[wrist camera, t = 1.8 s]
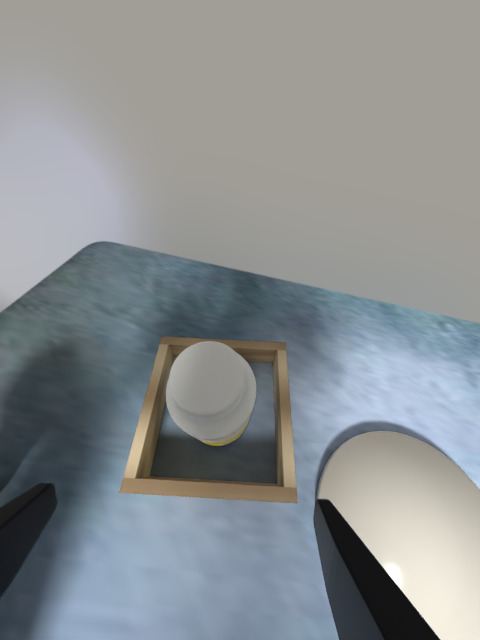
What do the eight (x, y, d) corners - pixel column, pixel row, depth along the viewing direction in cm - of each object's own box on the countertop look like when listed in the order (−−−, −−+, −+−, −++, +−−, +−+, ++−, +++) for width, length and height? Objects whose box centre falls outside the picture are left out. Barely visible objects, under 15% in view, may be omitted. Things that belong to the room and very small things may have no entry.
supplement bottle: (202, 374, 22) (181, 317, 13) (257, 391, 21) (271, 342, 13) (177, 434, 19) (130, 410, 10) (239, 457, 18) (242, 451, 10)
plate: (535, 769, 11) (554, 788, 10) (290, 595, 14) (293, 601, 14) (502, 482, 18) (512, 483, 17) (338, 404, 21) (341, 403, 20)
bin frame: (288, 497, 17) (297, 503, 14) (136, 488, 17) (119, 492, 14) (280, 355, 23) (285, 342, 21) (169, 350, 23) (161, 336, 21)
